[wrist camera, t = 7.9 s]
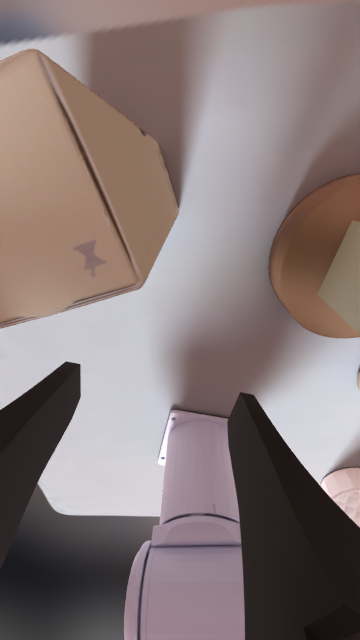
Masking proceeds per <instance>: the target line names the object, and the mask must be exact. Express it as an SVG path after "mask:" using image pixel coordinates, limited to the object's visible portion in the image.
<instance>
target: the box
mask: <svg viewBox="0 0 360 640" xmlns="http://www.w3.org/2000/svg"><path fill="white" fill-rule="evenodd" d="M178 214H179V210H178V206H177V203H176V199H175V196H174V192H173V189H172V185H171V182H170V178H169V175H168V172H167V169H166V166H165V162H164V159H163V156H162V153H161V150H160V147H159V145H158V142H157V141H156V140H155V139H154V138H152V137H151V136H150V135H148V134H147V133H146V132H144V131H143V130H142V129H141V128H139V127H138V126H137V125H135V124H134V123H133V122H132V121H130V120H129V119H128V118H126V117H125V116H124V115H122V114H121V113H120V112H118V111H117V110H116V109H115V108H113V107H112V106H111V105H110V104H108V103H107V102H106V101H105V100H103V99H102V98H101V97H100V96H98V95H97V94H96V93H94V92H93V91H92V90H90V89H89V88H88V87H86V86H85V85H84V84H82V83H81V82H80V81H79V80H77V79H76V78H75V77H74V76H72V75H71V74H70V73H68V72H67V71H66V70H64V69H63V68H62V67H60V66H59V65H58V64H57V63H55V62H54V61H52V60H51V59H50V58H49V57H47V56H46V55H45V54H43V53H42V52H40V51H39V50H37V49H27V50H24V51H21V52H18V53H16V54H14V55H12V56H10V57H8V58H6V59H3V60H1V61H0V328H4V327H8V326H12V325H16V324H19V323H23V322H27V321H31V320H35V319H39V318H43V317H47V316H50V315H54V314H57V313H61V312H64V311H67V310H71V309H74V308H78V307H81V306H85V305H88V304H92V303H95V302H98V301H101V300H105V299H108V298H111V297H114V296H118V295H121V294H124V293H127V292H131V291H134V290H138V289H140V288H141V287H142V286H143V285H144V283H145V281H146V279H147V277H148V275H149V273H150V271H151V269H152V267H153V265H154V263H155V260H156V258H157V256H158V254H159V252H160V250H161V248H162V246H163V244H164V242H165V240H166V238H167V236H168V234H169V232H170V230H171V228H172V226H173V224H174V222H175V220H176V218H177V216H178Z"/></svg>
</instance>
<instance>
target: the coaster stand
mask: <svg viewBox="0 0 360 640" xmlns="http://www.w3.org/2000/svg"><path fill="white" fill-rule="evenodd" d="M352 220H354V221H359V222H360V174H354V175H349V176H345V177H342V178H338V179H336V180H334V181H331V182H329V183H327V184H325V185H323V186H321V187H320V188H318V189H316V190H315V191H313V192H312V193H311V194H309V195H308V196H306V197H305V198H304V199H303V200H302V201H301V202H300V203H299V204H298V205H297V206H296V207H295V208H294V209H293V210H292V211H291V212H290V213H289V215H288V216H287V217H286V219H285V220H284V221H283V223H282V225H281V226H280V228H279V230H278V232H277V234H276V236H275V238H274V241H273V244H272V247H271V251H270V256H269V277H270V280H271V284H272V287H273V289H274V291H275V293H276V294H277V296H278V298H279V299H280V300H281V302H282V303H283V304H284V306H285V307H286V309H287V310H288V311H289V313H290V314H291V315H292V317H293V318H294V319H295V320H296V321H297V322H298V323H299V324H300V325H302V326H303V327H304V328H306V329H308V330H309V331H311V332H313V333H316V334H318V335H322V336H326V337H332V338H355V337H360V334H359V333H358V332H357V331H356V330H354V329H353V328H352V327H351V326H350V325H349V324H348V323H347V322H346V321H345V320H344V319H343V318H342V317H340V316H339V315H338V314H337V313H336V312H335V311H334V310H333V309H332V308H331V307H330V306H329V305H328V304H327V303H325V302H324V301H323V300H322V299H321V298H320V297H319V296H318V295H317V293H318V291H319V289H320V287H321V285H322V283H323V281H324V279H325V276H326V274H327V272H328V270H329V268H330V266H331V264H332V262H333V260H334V258H335V256H336V253H337V251H338V249H339V247H340V245H341V243H342V241H343V239H344V237H345V235H346V232H347V230H348V228H349V226H350V224H351V222H352Z"/></svg>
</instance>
